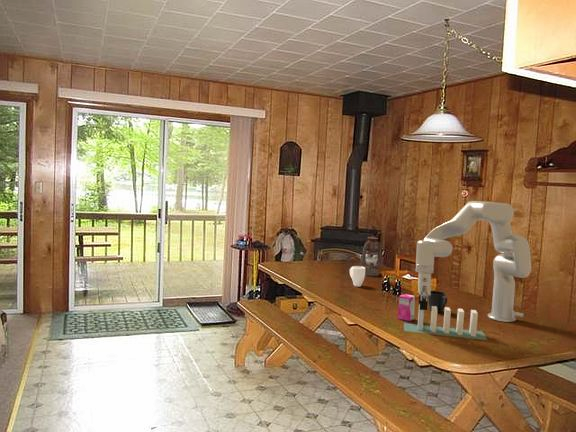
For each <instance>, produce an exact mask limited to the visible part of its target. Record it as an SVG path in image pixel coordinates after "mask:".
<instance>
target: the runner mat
mask: <svg viewBox="0 0 576 432" xmlns="http://www.w3.org/2000/svg"><path fill="white" fill-rule="evenodd" d="M469 330H470V329H464V328H463V335H458V334H457V332H456V327H455V328H453V327H450V328H449V334H448V333H444V331H443V326H436V332H431V329H430V325H427V324H426V325H425V324H423V331H421V330H418V323H408V322H403V332H410V333H418V334H429V335H436V336H446V337H455V338H464V339H465V338H466V339H474V340H483V341H488V338H487V337H486V335H485V333H484V332H483V331H482V330H477V331H476V336H471V335H470V333H469Z"/></svg>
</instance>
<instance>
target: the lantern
mask: <svg viewBox="0 0 576 432" xmlns="http://www.w3.org/2000/svg"><path fill="white" fill-rule="evenodd" d="M371 225H372V223H370V224H369V225H368V228H367V231H369V229H370V226H371ZM376 226H377V227H379V225H378V224H376ZM377 233H379V228H377ZM378 235H379V234H377V235H375V236H373V235H371V236H370V235H369V234H367V236H368V237H367V239H368V240H367V241H366V242H365V243H364V245H363V249H362V253H361V254H362V255H361V258H360V259H361V260H360V266H362V267H365V277H378V276H379V274H380V273H379V269H380V268H381V267H382V247H381V243H380V242H379V241H378V239H379V238H378Z"/></svg>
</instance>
